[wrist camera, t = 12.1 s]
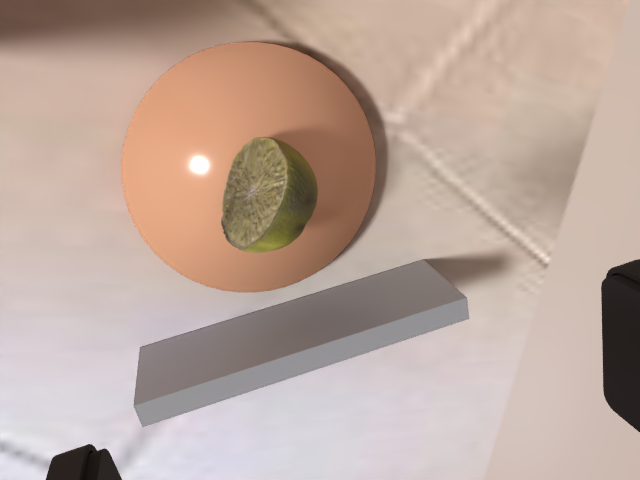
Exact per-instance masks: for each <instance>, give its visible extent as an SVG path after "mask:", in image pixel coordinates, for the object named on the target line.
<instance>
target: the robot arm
mask: <svg viewBox="0 0 640 480" xmlns="http://www.w3.org/2000/svg"><path fill="white" fill-rule="evenodd" d="M601 291H602V336H603V337H602V338H603V339H602V340H603V387H604V396H605V399H606V401H607V403H608V404H609V406H610V407H611V408H612V409H613V411H615V412H616V413H617V414H618V415H619V416H621V417H622V418H623V419H624V420H625V421H627V422H628V423H629V424H630V425H631V426H633V427H634V428H635V429H637V430H638V431H639V432H640V259H639V260H634V261H632V262H629V263H626V264H623V265H620V266H617V267H614V268H612V269H610V270H609V271H608V273H607V276H606V279H605V280H604V281H603V282H602V287H601ZM46 480H122V479H121V477H120V474H119V472H118V470H117V468H116V466H115V464H114V461H113V459H112V457H111V455H110V453H109V451H108V450H107V449H102V450H99V451H97V450H96V448H95V447H94V446H93V445H91V444H88V445H85V446H82V447H79V448H76V449H73V450H70V451H67V452H64V453H62V454H59V455H56V456H54V457H53V459H52V461H51V464H50V467H49V471H48V474H47V478H46Z"/></svg>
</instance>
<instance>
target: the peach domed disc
mask: <svg viewBox="0 0 640 480" xmlns="http://www.w3.org/2000/svg"><path fill="white" fill-rule="evenodd" d="M258 137H271V138H277V139H279V140H281V141H283V142H285V143H287V144H288V145H290V146H292V147H293V148H294V149H296V150H297V151H298V152H299V153H300V154H301V155H302V156H303V157H304V159H305V160H306V161H307V163H308V164H309V165H310V167H311V168H312V170H313V172H314V175H315V178H316V182H317V186H318V196H317V203H316V207H315V209H314V211H313V214H312V216H311V218H310V219H309V221H308V222H307V223H306V225H305V228H304V230H303V232H302V233H301V235H300V236H299V237H298V238H297V239H295V240H294V241H293V242H292V243H290V244H289V245H287V246H285V247H283V248H280V249H278V250H274V251H269V252H263V253H251V252H245V251H242V250H239V249H238V248H236V247H234V246H232V245H231V244H230V243H229V242H228V241H227V240H226V237H225V236H226V235H224V233H223V232H224V230H223V229H222V228H223V227H222V225H221V218H222V216H223V212H222V207H223V205H222V202H223V193H224V190H225V185H226V181H227V177H228V174H229V172H230V168H231V164H232V162H233V160H234V158H235V156H236V155H237V153H238V152H239V151H240V150H241V149H242V148H243V146H244V145H245V144H246V143H248V142H249V141H251V140H252V139H254V138H258ZM375 176H376V156H375V147H374V142H373V137H372V133H371V129H370V126H369V124H368V121H367V119H366V116H365V114H364V112H363V110H362V108H361V106H360V104H359V103H358V101H357V99H356V98H355V96H354V95H353V94H352V92H351V91H350V90H349V88H348V87H347V86H346V85H345V84H344V83H343V82H342V81H341V80H340V79H339V77H338V76H337V75H336V74H334V73H333V72H332V71H331V70H329V69H328V68H327V67H326V66H324V65H323V64H321V63H320V62H318V61H316V60H315V59H313V58H311V57H310V56H308V55H306V54H303V53H301V52H298V51H296V50H294V49H291V48H287V47H283V46H280V45H276V44H269V43H261V42H235V43H229V44H223V45H218V46H215V47H211V48H208V49H205V50H202V51H200V52H198V53H196V54H193V55H191V56H189V57H187V58H185V59H184V60H182V61H181V62H179V63H178V64H176V65H175V66H173V67H172V68H170V69H169V70H168V71H167V72H166V73H165V74H164V75H163V76H161V77H160V78H159V79H158V80H157V81H156V83H155V84H154V85H153V86H152V87H151V88H150V90H149V91H148V92H147V93H146V95H145V97H144V98H143V100H142V101H141V103H140V104H139V106H138V108H137V109H136V112H135V114H134V116H133V118H132V121H131V123H130V125H129V128H128V131H127V135H126V138H125V142H124V147H123V155H122V183H123V190H124V196H125V199H126V203H127V206H128V210H129V213H130V215H131V217H132V219H133V221H134V224H135V226H136V228H137V229H138V231H139V233H140V234H141V236H142V237H143V239H144V241H145V242H146V243H147V244H148V245H149V247H150V248H151V249H152V250H153V251H154V253H155V254H156V255H157V256H158V257H160V258H161V259H162V260H163V261H164V262H165V263H166V264H167V265H169V266H170V267H171V268H173V269H174V270H176V271H177V272H178V273H180V274H182V275H184V276H185V277H187V278H189V279H191V280H193V281H195V282H198V283H200V284H203V285H206V286H208V287H212V288H216V289H220V290H224V291H233V292H261V291H270V290H274V289H278V288H282V287H286V286H289V285H291V284H294V283H297V282H299V281H301V280H303V279H305V278H307V277H309V276H311V275H313V274H315V273H316V272H318V271H319V270H320V269H322V268H323V267H325V266H326V265H327V264H329V263H330V262H331V261H332V260H333V259H334V258H336V257H337V256H338V255H339V254H340V253H341V251H342V250H343V249H344V248H345V247H346V246H347V245H348V244H349V242H350V241H351V239H352V238H353V237H354V235H355V234H356V232H357V231H358V229H359V227H360V225H361V223H362V222H363V220H364V217H365V215H366V213H367V210H368V208H369V205H370V201H371V198H372V194H373V190H374V183H375Z"/></svg>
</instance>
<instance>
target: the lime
mask: <svg viewBox="0 0 640 480" xmlns="http://www.w3.org/2000/svg"><path fill="white" fill-rule="evenodd" d="M317 196H318V186H317V182H316V178H315V175H314V172H313V170H312V168H311V167H310V165H309V164H308V163H307V161H306V160H305V159H304V157H303V156H302V155H301V154H300V153H299V152H298V151H297V150H296V149H294V148H293V147H292V146H290V145H288V144H287V143H285V142H283V141H281V140H279V139H277V138H271V137H258V138H254V139H252V140H251V141H249V142H248V143H246V144H245V145H244V146H243V148H242V149H241V150H240V151H239V152H238V153H237V155H236V156H235V158H234V160H233V162H232V164H231V168H230V172H229V174H228V177H227V181H226V185H225V190H224V193H223V202H222V205H223V207H222V212H223V216H222V218H221V225H222V227H223V228H222V229H223V230H224V232H223V233H224V235H226V236H225V237H226V240H227V241H228V242H229V243H230V244H231V245H232V246H234V247H236V248H238V249H239V250H242V251H245V252H251V253H263V252H269V251H274V250H278V249H280V248H283V247H285V246H287V245H289V244H290V243H292V242H293V241H294V240H295V239H297V238H298V237H299V236H300V235H301V233H302V232H303V230H304V228H305V225H306V223H307V222H308V221H309V219H310V218H311V216H312V214H313V211H314V209H315V207H316V203H317Z"/></svg>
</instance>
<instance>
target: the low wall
mask: <svg viewBox="0 0 640 480" xmlns="http://www.w3.org/2000/svg"><path fill="white" fill-rule="evenodd" d="M467 319H469V312H468V304H467V297H466V296H464V295H463V294H462V293H461V292H460V291H459V290H458V289H457V288H455V287H454V286H453V285H452V284H451V283H450V282H449V281H447V280H446V279H445V278H444V277H443V276H442V275H441V274H439V273H438V272H437V271H436V270H435V269H434V268H433V267H432V266H430V265H429V264H428V263H427V262H426V261H425V260H421V261H417V262H414V263H411V264H408V265H405V266H401V267H398V268H395V269H392V270H388V271H385V272H382V273H379V274H376V275H372V276H369V277H366V278H363V279H359V280H356V281H353V282H350V283H346V284H343V285H340V286H337V287H334V288H330V289H327V290H324V291H321V292H317V293H314V294H311V295H308V296H305V297H301V298H298V299H295V300H292V301H288V302H285V303H282V304H279V305H276V306H272V307H269V308H266V309H263V310H259V311H256V312H253V313H250V314H246V315H243V316H240V317H237V318H234V319H230V320H227V321H224V322H221V323H217V324H214V325H211V326H208V327H205V328H201V329H198V330H195V331H192V332H188V333H185V334H182V335H179V336H176V337H172V338H169V339H166V340H163V341H159V342H156V343H153V344H150V345H147V346H143V347H140V352H139V361H138V371H137V380H136V389H135V398H134V408H135V410H136V413H137V415H138V417H139V420H140V422H141V424H142V427H144V426H147V425H150V424H153V423H156V422H159V421H162V420H165V419H168V418H171V417H174V416H177V415H180V414H183V413H187V412H190V411H193V410H196V409H199V408H202V407H205V406H208V405H211V404H214V403H217V402H220V401H223V400H226V399H229V398H232V397H235V396H238V395H241V394H244V393H247V392H250V391H253V390H256V389H259V388H262V387H265V386H268V385H271V384H274V383H277V382H280V381H283V380H286V379H289V378H292V377H295V376H298V375H301V374H304V373H307V372H310V371H313V370H316V369H319V368H322V367H325V366H328V365H331V364H334V363H337V362H340V361H343V360H346V359H349V358H352V357H355V356H358V355H361V354H364V353H367V352H370V351H373V350H376V349H379V348H382V347H385V346H388V345H391V344H394V343H397V342H400V341H403V340H406V339H409V338H413V337H416V336H419V335H422V334H425V333H428V332H431V331H434V330H437V329H440V328H443V327H446V326H449V325H452V324H455V323H458V322H461V321H464V320H467Z"/></svg>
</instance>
